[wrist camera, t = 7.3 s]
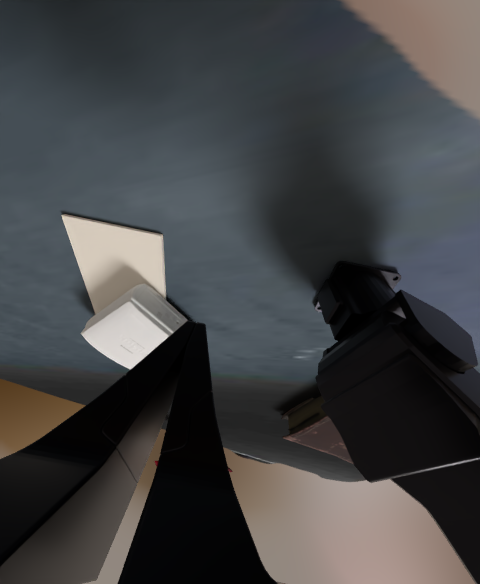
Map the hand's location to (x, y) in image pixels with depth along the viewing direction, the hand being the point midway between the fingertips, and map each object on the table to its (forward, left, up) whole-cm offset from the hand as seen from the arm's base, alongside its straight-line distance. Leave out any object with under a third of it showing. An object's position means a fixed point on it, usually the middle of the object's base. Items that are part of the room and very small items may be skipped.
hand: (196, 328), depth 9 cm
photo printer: (+5, +11, -10) cm, 16 cm away
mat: (+12, +10, -13) cm, 20 cm away
